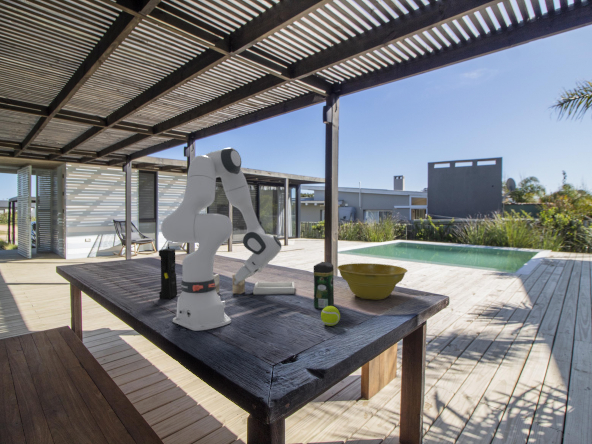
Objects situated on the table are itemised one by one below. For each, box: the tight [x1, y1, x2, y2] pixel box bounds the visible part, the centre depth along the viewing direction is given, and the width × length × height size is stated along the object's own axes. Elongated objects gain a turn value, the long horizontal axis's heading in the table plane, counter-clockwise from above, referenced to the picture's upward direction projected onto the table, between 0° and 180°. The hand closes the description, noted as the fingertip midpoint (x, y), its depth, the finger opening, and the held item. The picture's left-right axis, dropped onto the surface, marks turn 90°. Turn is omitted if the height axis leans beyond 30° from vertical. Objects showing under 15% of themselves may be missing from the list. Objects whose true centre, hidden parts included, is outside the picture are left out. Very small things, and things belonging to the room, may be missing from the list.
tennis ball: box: [320, 305, 341, 327], centre depth 109 cm, size 7×7×7 cm
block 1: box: [213, 273, 220, 294], centre depth 156 cm, size 5×5×9 cm
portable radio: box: [158, 243, 178, 300], centre depth 147 cm, size 8×6×25 cm
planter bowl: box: [336, 262, 408, 300], centre depth 148 cm, size 32×32×13 cm
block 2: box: [231, 273, 246, 294], centre depth 156 cm, size 5×5×9 cm
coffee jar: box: [313, 261, 335, 310], centre depth 131 cm, size 10×8×19 cm
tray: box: [252, 281, 296, 295], centre depth 160 cm, size 20×14×3 cm
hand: (237, 282), depth 156 cm, fingers closed on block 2, 5 cm apart
